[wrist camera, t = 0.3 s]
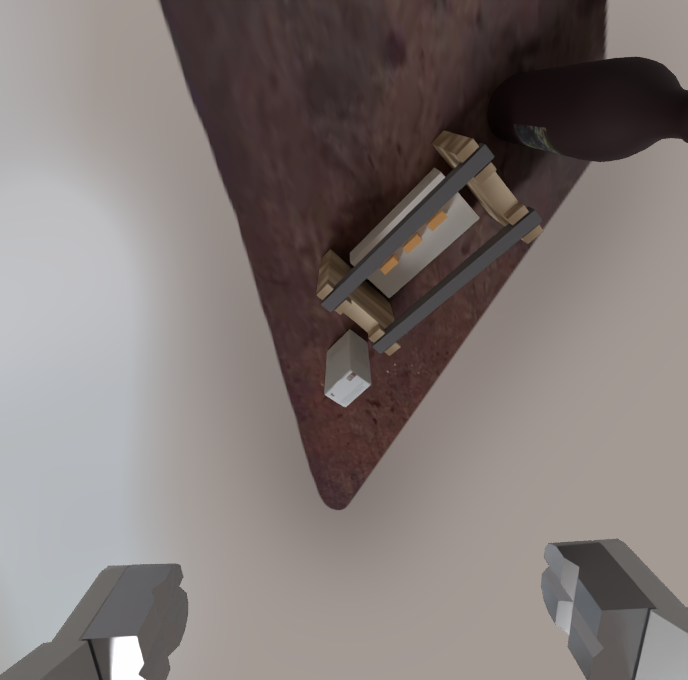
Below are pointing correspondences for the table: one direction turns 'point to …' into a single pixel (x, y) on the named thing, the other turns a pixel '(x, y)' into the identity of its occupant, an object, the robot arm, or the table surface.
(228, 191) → the table surface
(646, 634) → the robot arm
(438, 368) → the table surface
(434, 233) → the breaker strip
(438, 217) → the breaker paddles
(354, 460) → the table surface
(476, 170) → the long charcoal square rod
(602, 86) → the wine bottle
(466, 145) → the rack
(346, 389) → the skincare box
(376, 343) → the grey bar
